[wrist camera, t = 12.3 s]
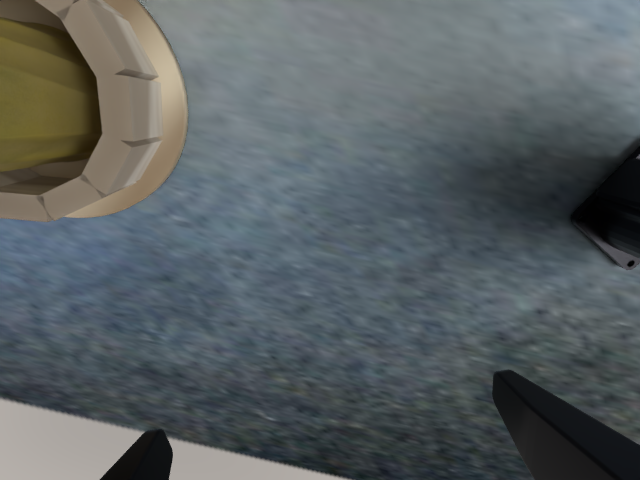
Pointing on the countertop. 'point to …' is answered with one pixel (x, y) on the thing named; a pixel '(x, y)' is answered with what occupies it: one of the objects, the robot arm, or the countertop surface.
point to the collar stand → (107, 113)
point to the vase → (45, 97)
